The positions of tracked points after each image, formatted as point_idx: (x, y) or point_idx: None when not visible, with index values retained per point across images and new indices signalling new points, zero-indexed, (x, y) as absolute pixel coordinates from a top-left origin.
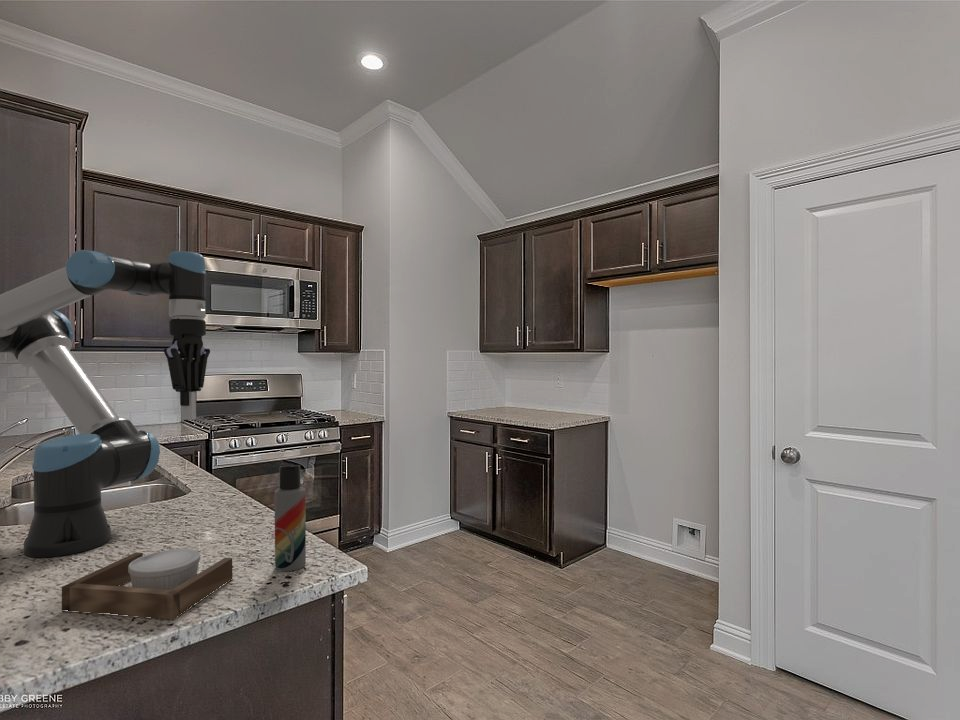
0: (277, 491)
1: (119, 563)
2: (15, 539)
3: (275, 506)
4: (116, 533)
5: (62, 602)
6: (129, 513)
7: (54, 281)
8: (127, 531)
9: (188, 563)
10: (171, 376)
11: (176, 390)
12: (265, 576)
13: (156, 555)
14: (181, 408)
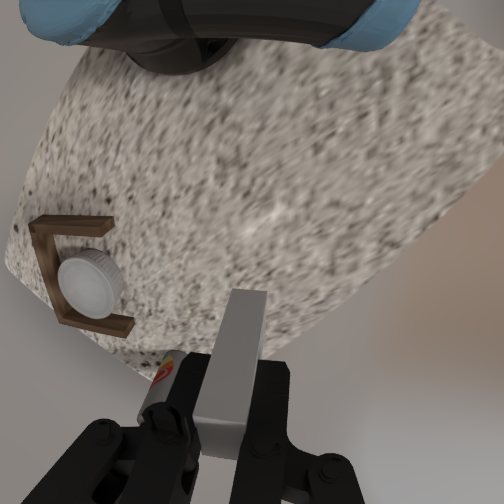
0: (139, 418)
1: (72, 234)
2: None
3: (143, 403)
4: (250, 43)
5: (37, 218)
6: None
7: None
8: (264, 55)
9: (87, 316)
10: (41, 487)
11: (149, 413)
12: (152, 347)
13: (93, 268)
14: (220, 329)
